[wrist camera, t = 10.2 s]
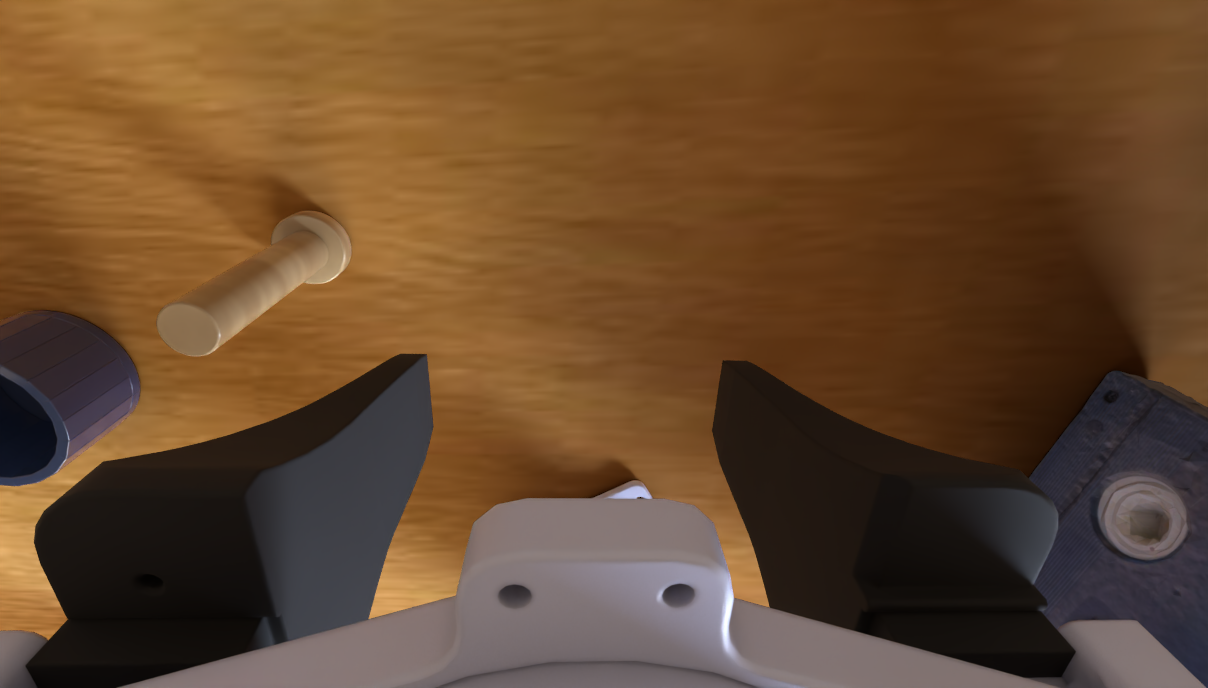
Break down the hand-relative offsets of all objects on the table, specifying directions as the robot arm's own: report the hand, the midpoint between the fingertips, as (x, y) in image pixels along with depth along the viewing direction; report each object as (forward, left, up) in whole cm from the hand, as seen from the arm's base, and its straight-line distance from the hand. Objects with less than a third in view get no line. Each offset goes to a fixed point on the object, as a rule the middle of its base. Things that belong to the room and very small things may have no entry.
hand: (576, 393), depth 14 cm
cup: (+6, +20, -9) cm, 23 cm away
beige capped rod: (+6, +8, -9) cm, 14 cm away
